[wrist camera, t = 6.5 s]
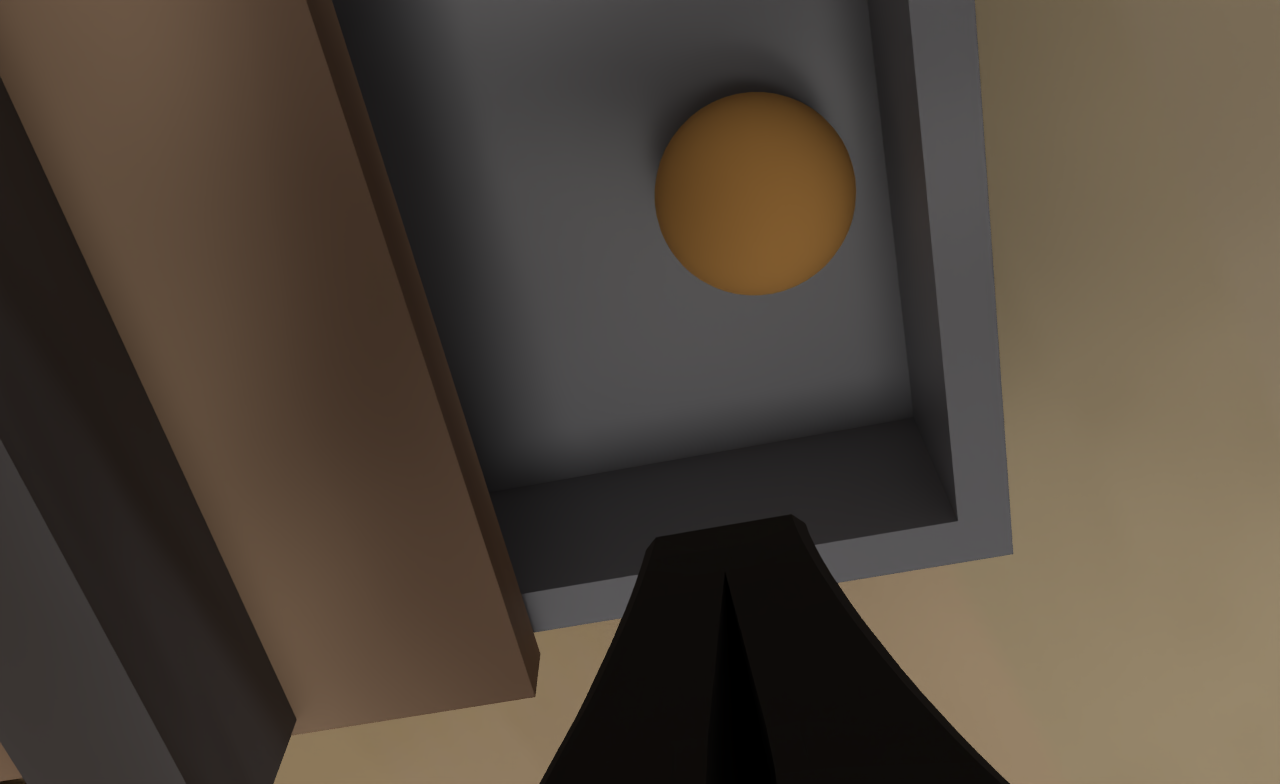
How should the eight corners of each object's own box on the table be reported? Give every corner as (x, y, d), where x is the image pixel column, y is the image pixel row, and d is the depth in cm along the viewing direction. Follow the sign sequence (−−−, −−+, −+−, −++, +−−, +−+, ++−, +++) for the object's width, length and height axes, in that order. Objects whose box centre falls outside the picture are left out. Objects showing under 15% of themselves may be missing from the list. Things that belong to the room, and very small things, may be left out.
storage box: (886, -301, 16) (952, -323, 13) (955, 433, 21) (1013, 554, 18) (82, -109, 17) (-54, -84, 14) (341, 540, 23) (288, 672, 19)
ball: (826, 53, 18) (859, 100, 15) (850, 234, 19) (884, 306, 16) (636, 92, 18) (634, 146, 15) (673, 268, 19) (677, 344, 17)
